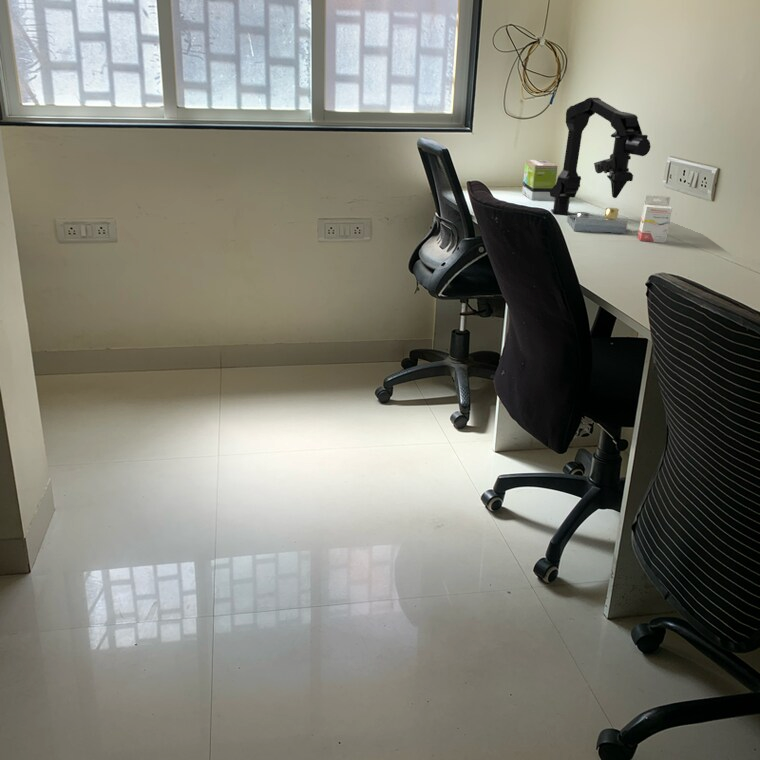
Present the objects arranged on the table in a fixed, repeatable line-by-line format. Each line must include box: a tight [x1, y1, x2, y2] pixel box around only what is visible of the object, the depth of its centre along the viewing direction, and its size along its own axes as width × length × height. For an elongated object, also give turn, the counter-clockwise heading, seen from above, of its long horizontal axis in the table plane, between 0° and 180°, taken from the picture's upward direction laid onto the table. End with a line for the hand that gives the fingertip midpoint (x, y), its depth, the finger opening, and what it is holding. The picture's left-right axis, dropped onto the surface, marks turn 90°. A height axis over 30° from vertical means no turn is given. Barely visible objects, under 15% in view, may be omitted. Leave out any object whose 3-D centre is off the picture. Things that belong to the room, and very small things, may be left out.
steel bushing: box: [576, 211, 591, 218], centre depth 280 cm, size 4×4×5 cm
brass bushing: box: [604, 207, 620, 220], centre depth 280 cm, size 4×4×7 cm
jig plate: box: [566, 214, 628, 234], centre depth 280 cm, size 16×18×4 cm
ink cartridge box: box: [637, 194, 673, 243], centre depth 263 cm, size 9×5×15 cm, turn 84°
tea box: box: [521, 159, 558, 202], centre depth 330 cm, size 15×10×15 cm, turn 6°
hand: (614, 197), depth 277 cm, fingers closed
